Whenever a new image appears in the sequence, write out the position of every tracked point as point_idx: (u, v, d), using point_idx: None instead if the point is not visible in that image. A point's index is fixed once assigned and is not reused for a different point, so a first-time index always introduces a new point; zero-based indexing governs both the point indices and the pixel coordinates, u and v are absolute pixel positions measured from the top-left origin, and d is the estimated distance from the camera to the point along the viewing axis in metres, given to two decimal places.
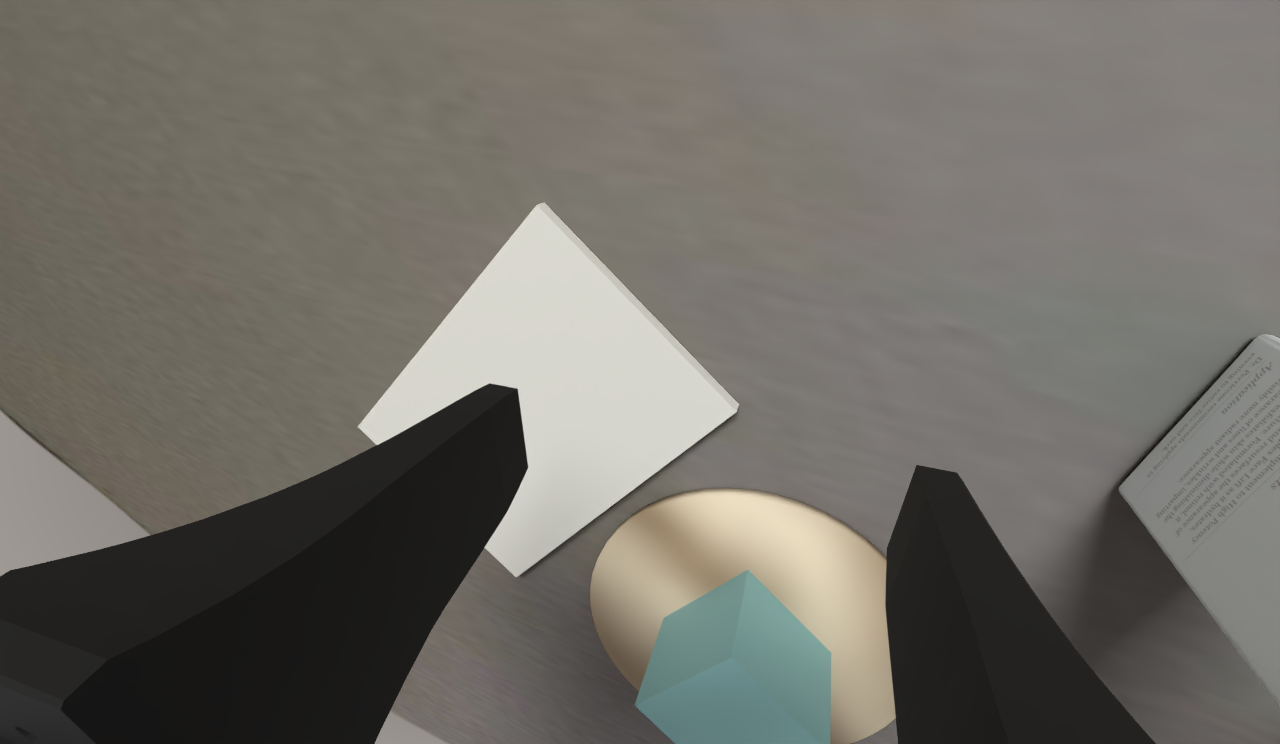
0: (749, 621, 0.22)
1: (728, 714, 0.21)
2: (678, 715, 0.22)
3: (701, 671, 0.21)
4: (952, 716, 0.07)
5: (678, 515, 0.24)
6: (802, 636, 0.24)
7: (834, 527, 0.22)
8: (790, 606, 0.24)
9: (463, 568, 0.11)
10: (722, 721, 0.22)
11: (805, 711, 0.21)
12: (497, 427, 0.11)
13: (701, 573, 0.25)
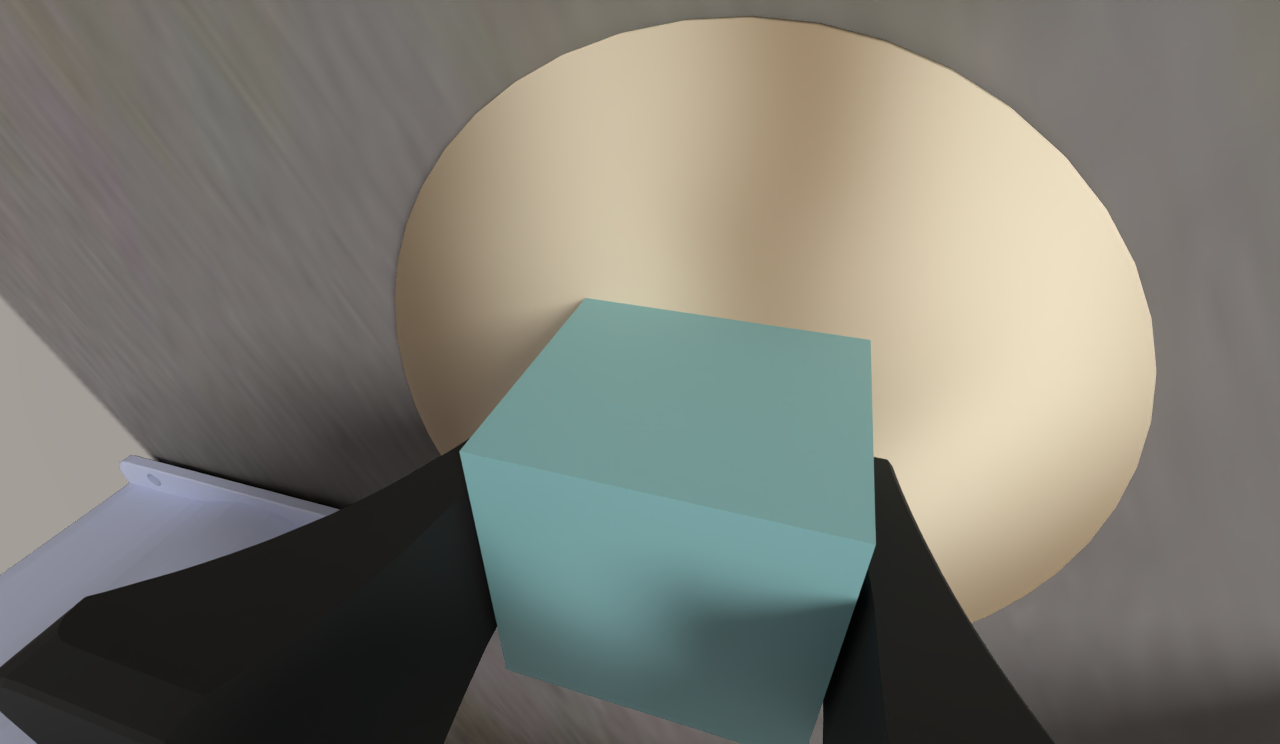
0: None
1: (686, 608, 0.08)
2: (556, 536, 0.08)
3: (741, 511, 0.07)
4: (855, 689, 0.07)
5: (886, 108, 0.08)
6: None
7: (1148, 396, 0.09)
8: None
9: None
10: (652, 607, 0.08)
11: None
12: None
13: (767, 276, 0.10)
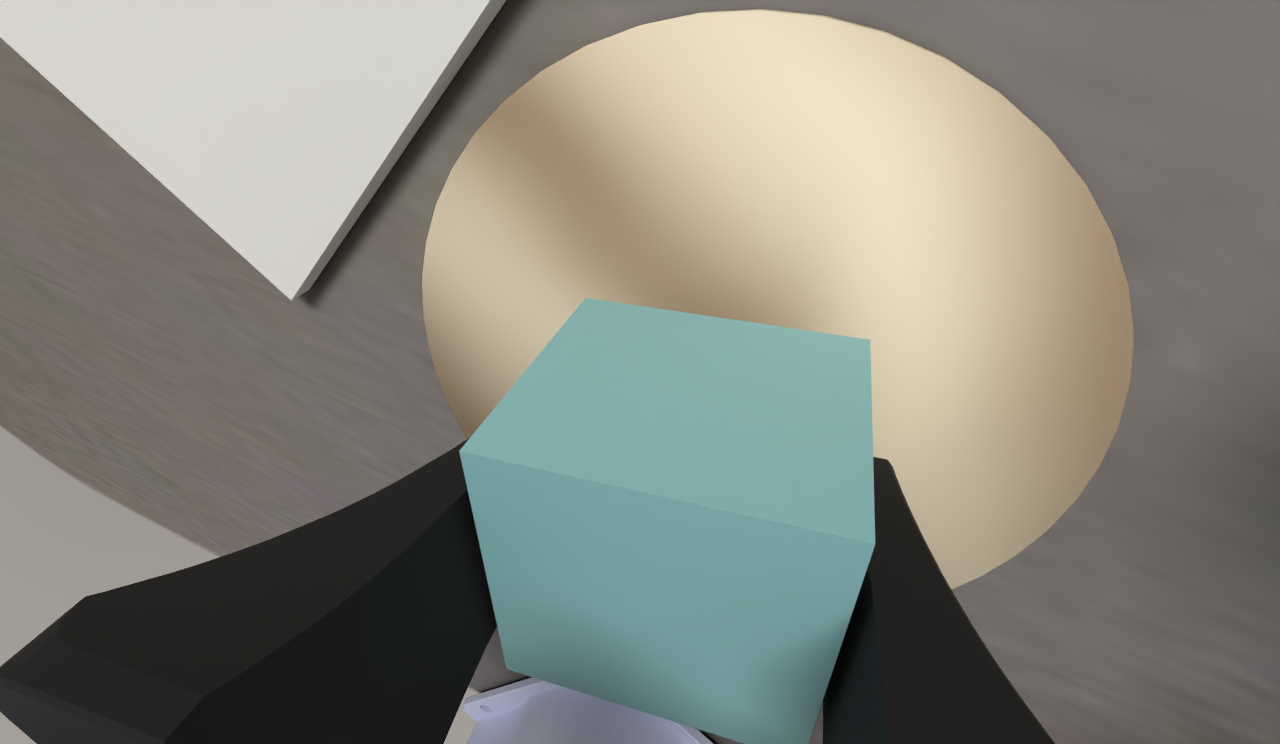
0: None
1: (685, 608, 0.08)
2: (556, 536, 0.08)
3: (740, 511, 0.07)
4: (855, 689, 0.07)
5: (578, 101, 0.10)
6: None
7: (971, 81, 0.08)
8: (823, 327, 0.11)
9: None
10: (652, 606, 0.08)
11: None
12: None
13: (633, 259, 0.11)
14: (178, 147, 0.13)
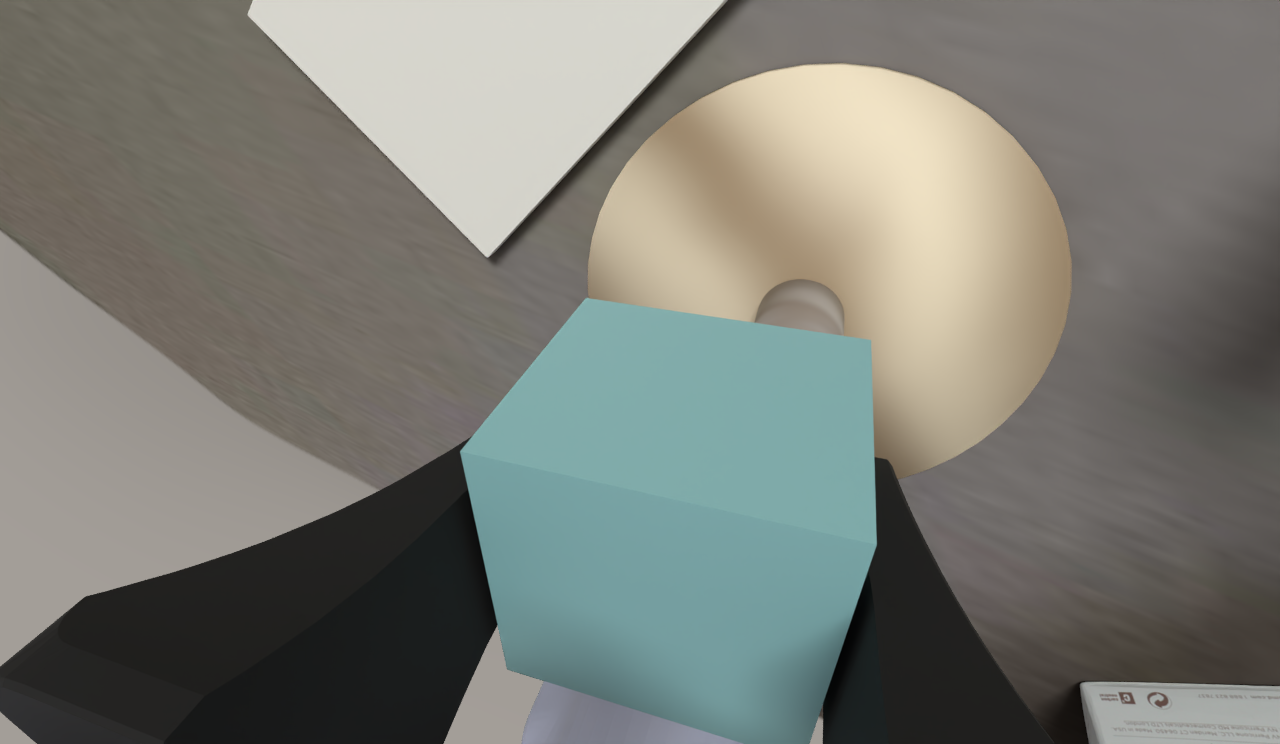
0: None
1: (687, 608, 0.08)
2: (557, 536, 0.08)
3: (742, 511, 0.07)
4: (855, 689, 0.07)
5: (722, 118, 0.16)
6: None
7: (969, 106, 0.14)
8: (874, 263, 0.17)
9: None
10: (653, 607, 0.08)
11: None
12: None
13: (748, 221, 0.17)
14: (425, 149, 0.19)
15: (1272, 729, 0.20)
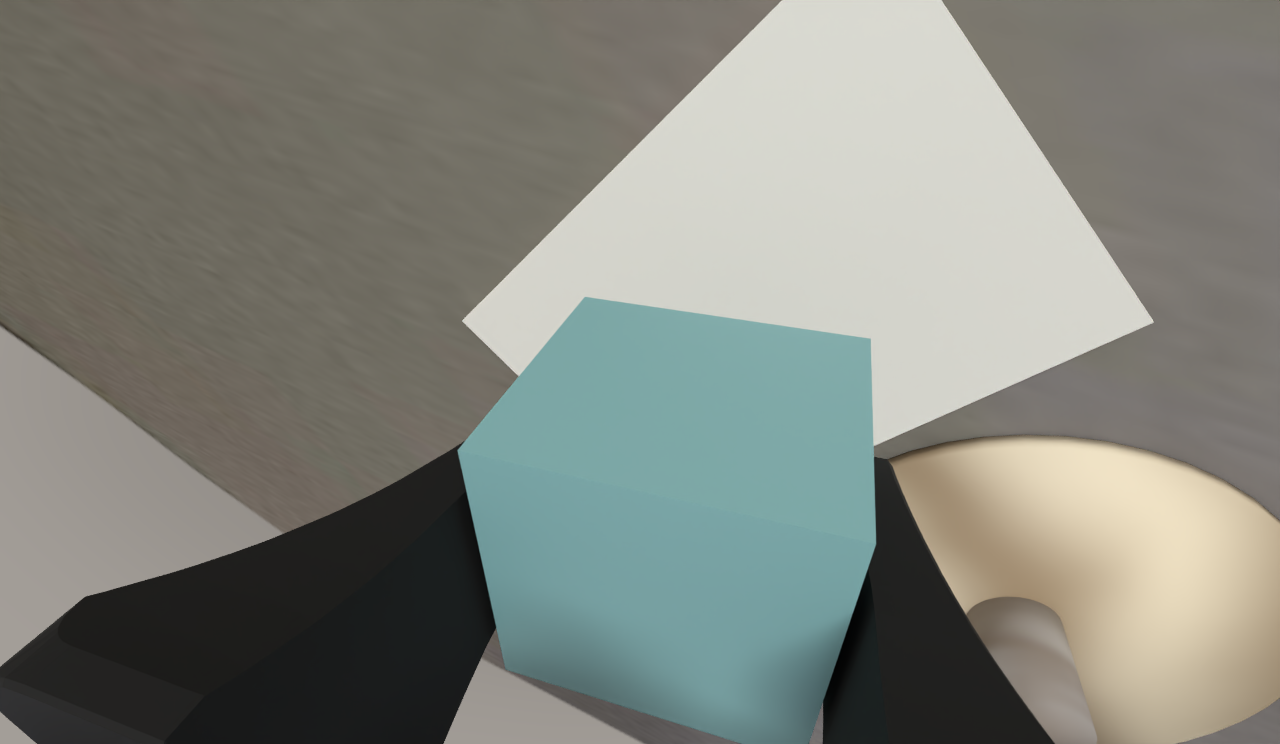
0: None
1: (685, 608, 0.08)
2: (555, 536, 0.08)
3: (740, 511, 0.07)
4: (855, 689, 0.07)
5: (968, 471, 0.16)
6: None
7: (1246, 504, 0.14)
8: (1106, 599, 0.17)
9: None
10: (651, 606, 0.08)
11: None
12: None
13: (975, 548, 0.17)
14: None
15: None
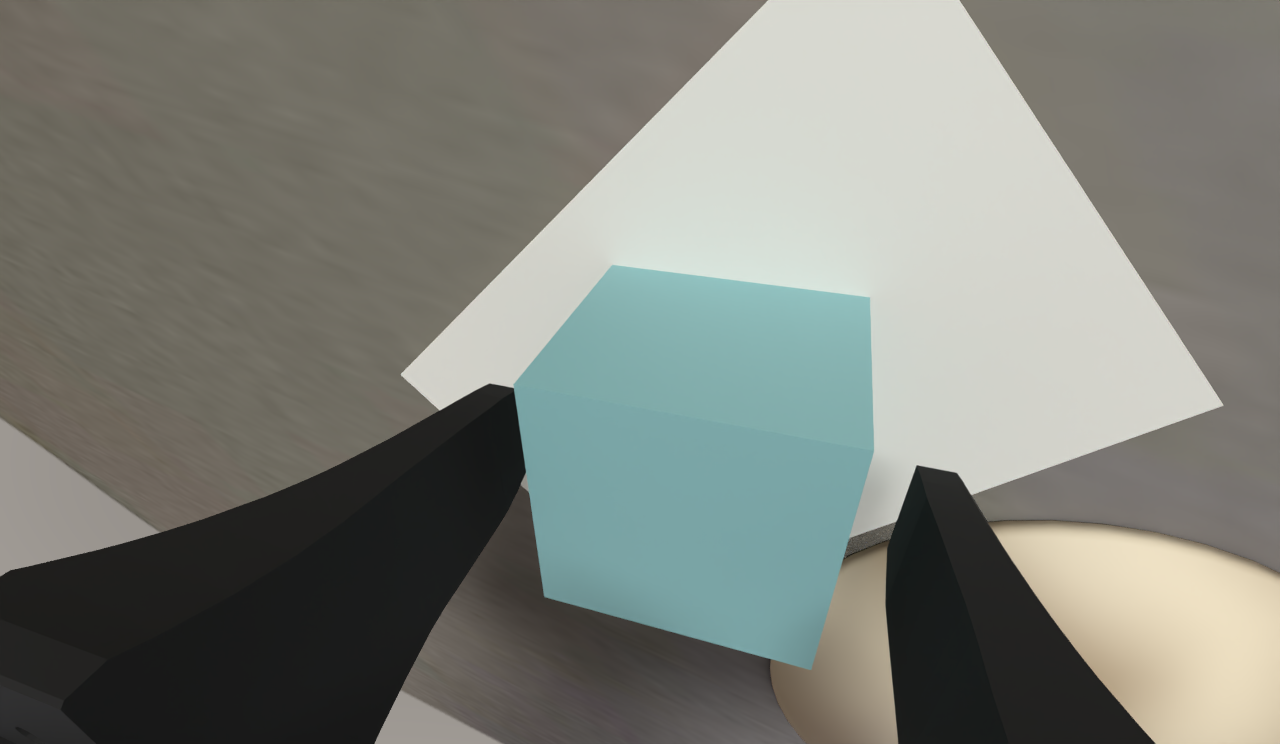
0: None
1: (709, 523, 0.09)
2: (596, 461, 0.09)
3: (759, 427, 0.08)
4: (952, 716, 0.07)
5: None
6: None
7: None
8: (1147, 703, 0.15)
9: (463, 568, 0.11)
10: (679, 524, 0.09)
11: None
12: (497, 427, 0.11)
13: None
14: None
15: None
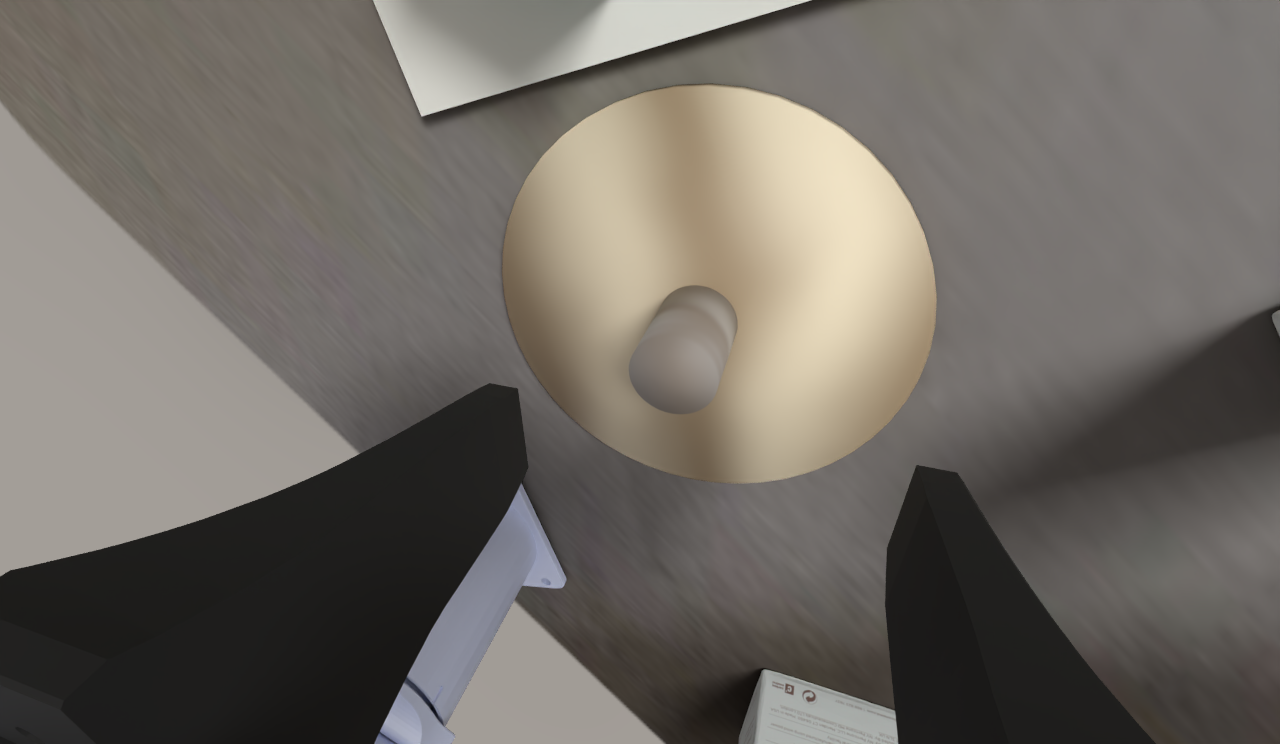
0: None
1: None
2: None
3: None
4: (952, 716, 0.07)
5: (719, 115, 0.16)
6: None
7: (915, 222, 0.16)
8: (780, 307, 0.18)
9: (463, 568, 0.11)
10: None
11: None
12: (497, 427, 0.11)
13: (695, 218, 0.18)
14: None
15: (870, 736, 0.27)
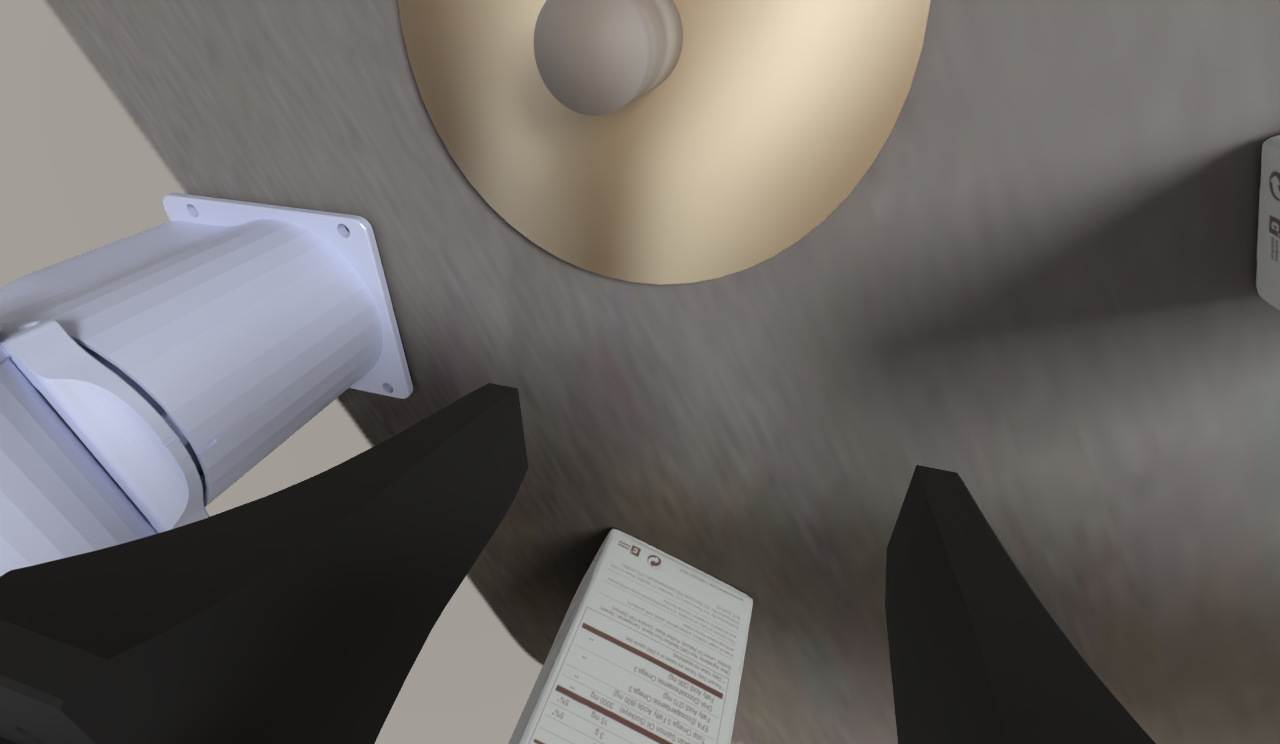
0: None
1: None
2: None
3: None
4: (952, 716, 0.07)
5: None
6: None
7: None
8: (737, 31, 0.15)
9: (463, 568, 0.11)
10: None
11: None
12: (497, 427, 0.11)
13: None
14: None
15: (707, 606, 0.26)
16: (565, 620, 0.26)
